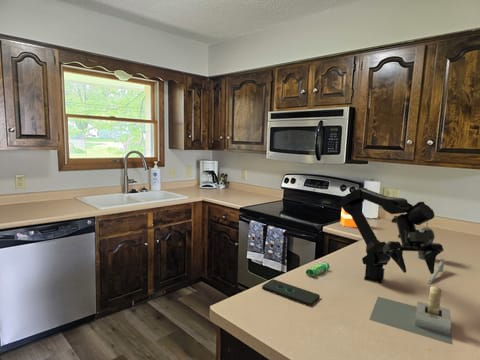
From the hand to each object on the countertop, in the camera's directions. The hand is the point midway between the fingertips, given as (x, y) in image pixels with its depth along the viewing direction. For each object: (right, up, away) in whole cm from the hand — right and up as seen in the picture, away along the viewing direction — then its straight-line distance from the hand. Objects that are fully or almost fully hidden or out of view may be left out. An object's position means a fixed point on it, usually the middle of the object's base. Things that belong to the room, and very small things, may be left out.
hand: (418, 273), depth 107 cm
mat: (-5, -13, -4) cm, 15 cm away
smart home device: (-42, -11, +10) cm, 44 cm away
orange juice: (+13, 0, +107) cm, 108 cm away
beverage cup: (+30, -8, +50) cm, 59 cm away
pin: (0, -14, -8) cm, 16 cm away
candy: (-27, -9, +29) cm, 41 cm away
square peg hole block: (0, -14, -8) cm, 16 cm away
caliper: (+23, -10, +29) cm, 38 cm away
